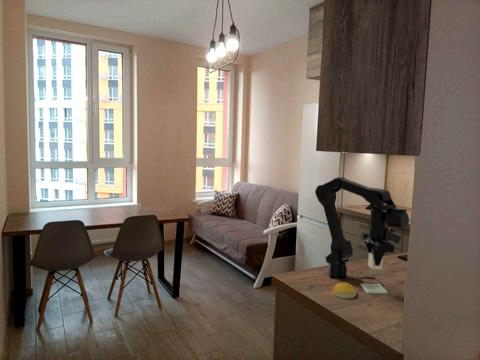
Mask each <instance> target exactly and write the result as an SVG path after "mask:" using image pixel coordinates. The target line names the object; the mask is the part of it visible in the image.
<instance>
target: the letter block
mask: <svg viewBox="0 0 480 360" xmlns="http://www.w3.org/2000/svg"><path fill="white" fill-rule="evenodd" d="M367 257H368V258H367V259H368V260H367V266H368V267H369V268H370V270H383V265H384V256H383V257H382V260H381V262H380V264H379V266H376V265H375V261H374V257H373V254H372V253H369V254H368V256H367Z"/></svg>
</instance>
